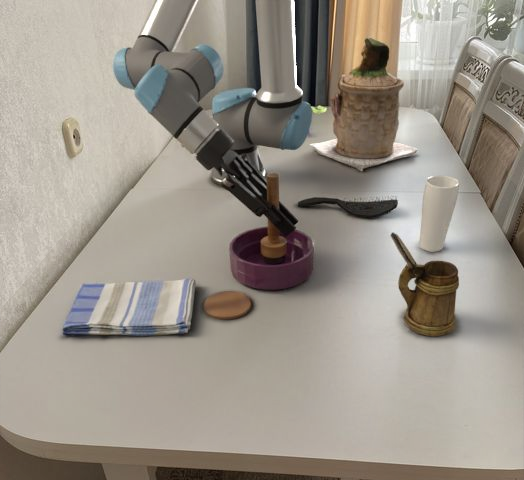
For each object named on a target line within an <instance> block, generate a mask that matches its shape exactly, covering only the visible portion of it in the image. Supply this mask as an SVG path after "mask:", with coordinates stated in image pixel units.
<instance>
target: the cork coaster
mask: <svg viewBox="0 0 524 480" xmlns="http://www.w3.org/2000/svg"><path fill="white" fill-rule="evenodd" d="M251 307H252V302H251V299H250V298H249V296H248V295H246V294H244V293H242V292H240V291H233V290H226V291H225V290H224V291H219V292H216V293H213V294H211V295H210V296H208V297H207V298H206V299H205V301H204V304H203V308H204V312H205V313H206V314H207V315H208V316H209V317H211V318H214V319H217V320H223V321H224V320H225V321H226V320H235V319H238V318H241V317H243V316H245V315H246V314H247V313H248V312H250V310H251Z"/></svg>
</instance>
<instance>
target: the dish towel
mask: <svg viewBox="0 0 524 480" xmlns="http://www.w3.org/2000/svg"><path fill="white" fill-rule="evenodd" d="M196 284H197V283H196V279H194V278H183V279H175V280H147V281H146V280H145V281H139V282H138V281H135V282H133V281H131V282H130V281H128V282H127V281H124V282H123V281H122V282H121V281H119V282H113V283H83V284H81V287H80V289H79V291H78V292H77V295H76V296H75V299H74V300H73V301H74V302H73V304H72V306H71V309H70V311H69V313H68V315H67V317H66V320H65V323H64V324H63V327H62V335H63V336H69V337H71V336H85V335H96V336H98V335H99V336H108V335H117V336H119V335H120V336H121V335H122V336H125V335H126V336H139V337H140V336H141V337H143V336H146V337H147V336H160V335H177V334H179V335H180V334H187V333H188V332H189V330H191V325H192V322H191V321H192V318H193V317H192V316H193V310H194V301H195V291H196V286H197V285H196Z"/></svg>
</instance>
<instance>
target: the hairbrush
mask: <svg viewBox="0 0 524 480" xmlns="http://www.w3.org/2000/svg"><path fill="white" fill-rule="evenodd" d="M381 197H382V198H381V200H380V196H379V198H378V196H376V197H373V198H372V197H369V199H368V198H367V197H364V198H363V200H362V198H357V199H356V198H354V201H353V200H352V199H350V197H349V198H348V199H349V200H346V197H344V198H343V199H340V198H336V197H335V198H334V197H325V196H321V197H320V196H317V197H316V196H314V197H309V198H304V199H302V200H298V202H297V206H298V207H302V208H304V207H310V206H318V205H336V206H337V207H339V208H340V209H342V210H343V211H344V212H345V213H347V214H348V215H350V216H353V217H355V218H359V219H373V218H379V217H382V216H385V215H388V214H390V213H391V212H393V211H394V210H395V209H396V208H397V207H398V205H399V200H398V199H397V197H395V195H392V198H391V199H390V196H389V195H387V196H385V197H383V196H381ZM374 198H375V199H374ZM386 198H387V199H386ZM394 198H395V199H394ZM367 200H368V201H367ZM370 200H371V201H370Z"/></svg>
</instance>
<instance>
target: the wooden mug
mask: <svg viewBox="0 0 524 480" xmlns="http://www.w3.org/2000/svg"><path fill="white" fill-rule="evenodd" d="M390 238H391V239H392V242H393V243H394V245H395V247H396V248H397V250H398V253H399V254H400V255H401V257H402V258H403V259H404V261H405V263H406V264H405V266H404V267H403V268H402V270H401V272H400V274H399V277H398V281H397V282H398V283H397V284H398V285H397V286H398V290H399V292H400V294H401V296H402V298H403V299H404V301H405V303H406V309H405V312H404V315H403V322H404V324H405V325H406V326H407V327H408V329H410V330H411V331H412V332H414V333H416V334H418V335H421V336H426V337H441V336H445V335H447V334H450V333H451V332H453V331H454V330H455V328H456V320H457V319H456V318H457V317H456V314H455V313H456V299H457V290H458V289H459V287H460V277H459V269H458V268H457V266H456V265H455V264H454V263H452V262H449V261H445V260H430V261H427V262H425V263H424V264H420V263H417V261H416V260H415V258H414V257H413V255H412V254H411V252H410V250H409V249H408V247H407V246H406V245H405V243H404V242H403V240H402V239H401V237H400V236H399V235H398V234H397V233H396V232H391V234H390ZM413 279H414V285H415V286H414V289H411V288H410V287H409V283H410V281H411V280H413Z"/></svg>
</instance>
